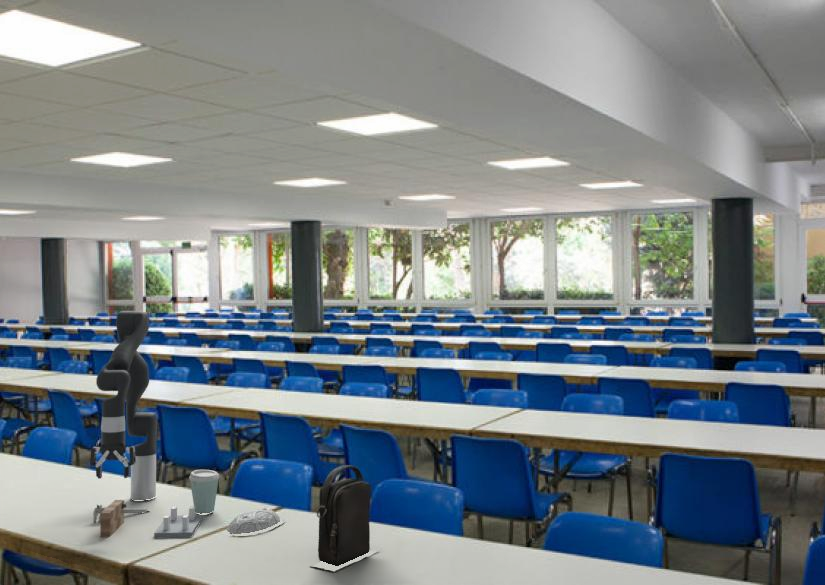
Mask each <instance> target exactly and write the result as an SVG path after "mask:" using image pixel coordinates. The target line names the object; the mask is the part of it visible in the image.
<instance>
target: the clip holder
mask: <svg viewBox="0 0 825 585" xmlns="http://www.w3.org/2000/svg"><path fill="white" fill-rule="evenodd" d="M202 519H203V520H204V515H197V514H196V512H195V506H194V505H193V506H190V507H189V508H188V514H187V515H186V514H184V515H178V506H171V508H170V515H164V517H163V522H162V523H161V524H160V525H159V526H158V528H157V529H156V530H155V532H154V533H153V538H154V539H155V538H157V539H158V538H165V539H166V538H187V537H186V536H192V535H193V536H194V535H195V533H196V531H197V530H196V528H197V527H198V525H199V523H200V522H201V520H202ZM203 520H202V521H203ZM201 523H202V522H201ZM201 523H200V524H201ZM199 526H200V525H199ZM198 528H199V527H198ZM198 528H197V529H198ZM195 530H196V531H195ZM194 532H195V533H194ZM193 536H192V537H193Z"/></svg>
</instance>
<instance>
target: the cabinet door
mask: <svg viewBox="0 0 825 585" xmlns="http://www.w3.org/2000/svg"><path fill="white" fill-rule="evenodd" d="M127 507H128V506H127V503H125V499H115V500H114V501H112V502H111V503H110V504H109V505H108V506H107V507H105V508H106V509H104V510H103V511H102V512H101V520H100V522H99V523H100V526H99V527H100V528H99V530H100V534H99V535H100V536H99V537H100V538H111V536H113V534H115V533H116V531H117V530H118V529H119V528H120V527H121V526H123V524H124V523H125V513H124V509H127Z"/></svg>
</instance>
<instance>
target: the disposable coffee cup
mask: <svg viewBox="0 0 825 585" xmlns="http://www.w3.org/2000/svg"><path fill="white" fill-rule="evenodd" d="M219 478H220V474H219V473H218V471H215V470H210V469H195V470H192V471H191V472H190V475H189V478H188V480H189V483H190V489H191V495H192V502H193V506H195V514H196V513H200V514H202V513H210V512H212V511H213V512H214V511H215V506H216V500H217V499H216V498H217V494H218V493H217V492H218V485H219Z"/></svg>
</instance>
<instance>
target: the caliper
mask: <svg viewBox="0 0 825 585" xmlns="http://www.w3.org/2000/svg"><path fill="white" fill-rule="evenodd" d="M106 508H107V507H103V505H102V504H100V505H99V504H96V507H95V508H94V510H93V513H92V514H93V515H92V516H93V517H92V518H93V519H92V522H93V523H97V520H98V523H100V520H101V512H102V511H103V510H104V509H106ZM147 510H148V509H147V508H124V514H143V513H142V512H146V511H147ZM146 513H147V512H146ZM98 515H99V516H98Z"/></svg>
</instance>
